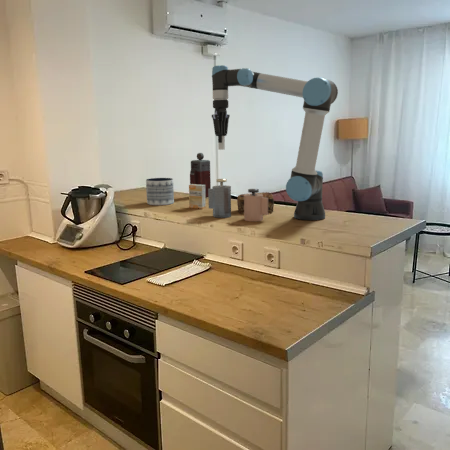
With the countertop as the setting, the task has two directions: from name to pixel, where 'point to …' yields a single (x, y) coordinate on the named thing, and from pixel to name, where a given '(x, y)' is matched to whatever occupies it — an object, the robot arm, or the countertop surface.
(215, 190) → the faceted cylinder
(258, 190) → the glossy charcoal round knob
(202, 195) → the supplement box
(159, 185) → the planter
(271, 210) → the bread
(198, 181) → the dark red french press
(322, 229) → the countertop surface
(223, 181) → the steel plunger
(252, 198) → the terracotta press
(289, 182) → the robot arm
